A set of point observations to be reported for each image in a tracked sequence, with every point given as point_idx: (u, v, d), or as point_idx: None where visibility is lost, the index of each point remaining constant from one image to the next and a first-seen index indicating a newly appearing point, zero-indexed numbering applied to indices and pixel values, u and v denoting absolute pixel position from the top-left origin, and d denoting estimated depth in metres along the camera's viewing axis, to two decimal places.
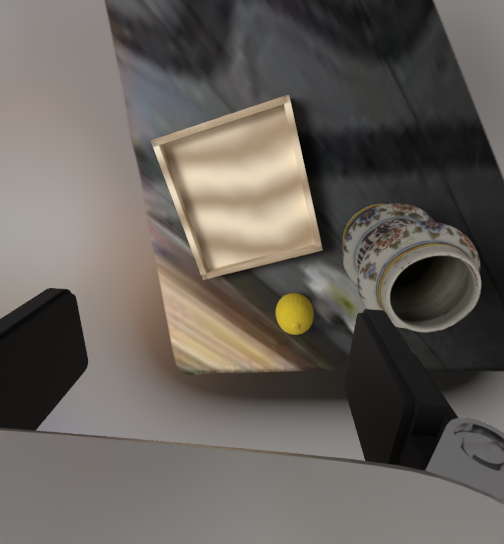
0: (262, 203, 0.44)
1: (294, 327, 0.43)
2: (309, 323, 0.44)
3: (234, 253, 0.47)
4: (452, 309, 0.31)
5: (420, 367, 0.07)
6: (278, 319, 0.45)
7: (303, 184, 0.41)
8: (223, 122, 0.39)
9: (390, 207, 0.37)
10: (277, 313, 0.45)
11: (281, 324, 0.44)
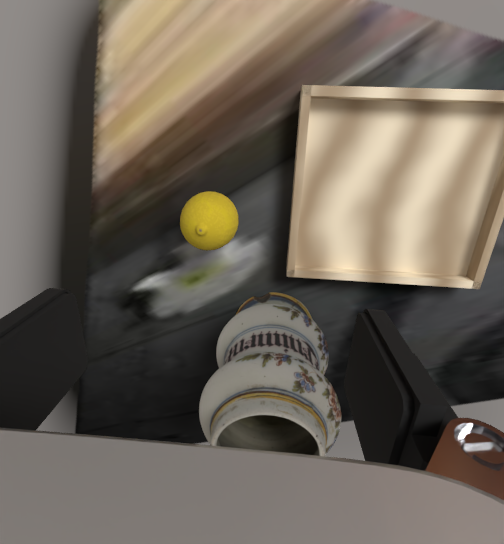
0: (372, 217, 0.32)
1: (201, 228, 0.27)
2: (198, 246, 0.29)
3: (319, 153, 0.31)
4: None
5: (420, 367, 0.07)
6: (211, 200, 0.28)
7: (377, 276, 0.33)
8: (499, 207, 0.30)
9: (326, 367, 0.33)
10: (219, 199, 0.29)
11: (205, 204, 0.28)
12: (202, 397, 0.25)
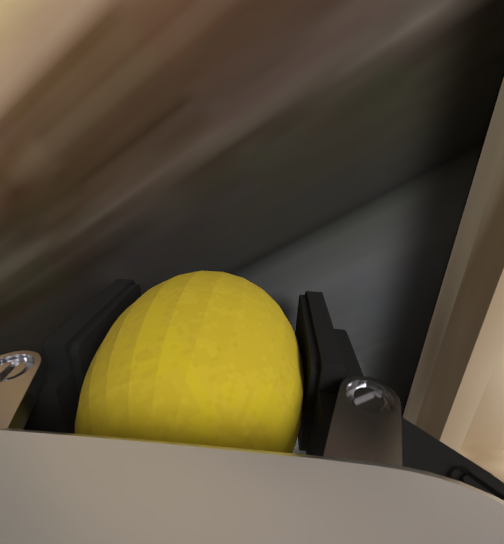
0: None
1: None
2: None
3: None
4: None
5: (335, 336, 0.08)
6: (211, 350, 0.06)
7: None
8: None
9: None
10: (244, 333, 0.07)
11: (176, 386, 0.06)
12: None
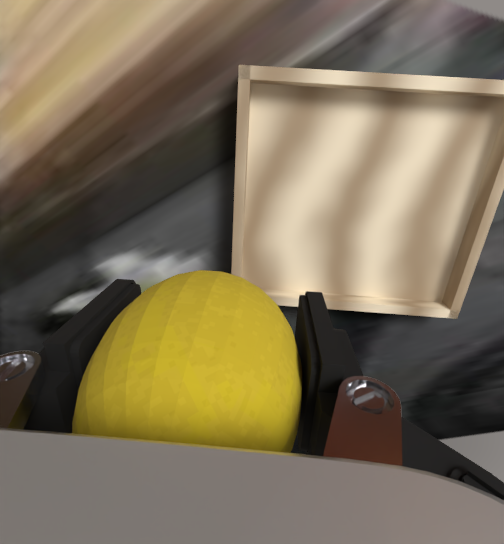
0: (332, 232, 0.27)
1: None
2: None
3: (266, 153, 0.25)
4: None
5: (335, 336, 0.08)
6: (208, 349, 0.06)
7: (338, 303, 0.28)
8: (482, 224, 0.24)
9: None
10: (243, 332, 0.07)
11: (174, 386, 0.06)
12: None
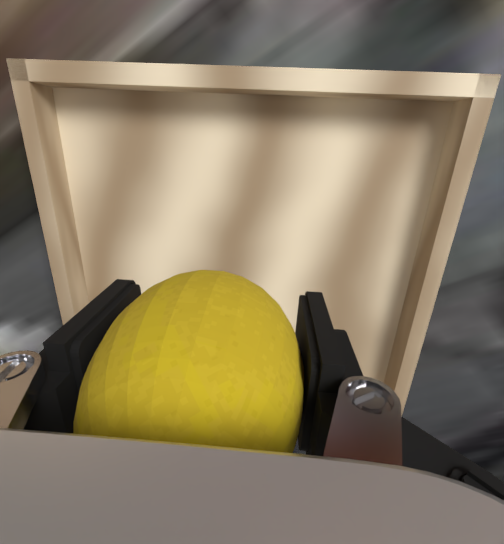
0: None
1: None
2: None
3: (97, 190, 0.16)
4: None
5: (334, 336, 0.08)
6: (210, 349, 0.06)
7: None
8: (423, 296, 0.16)
9: None
10: (244, 332, 0.07)
11: (176, 386, 0.06)
12: None
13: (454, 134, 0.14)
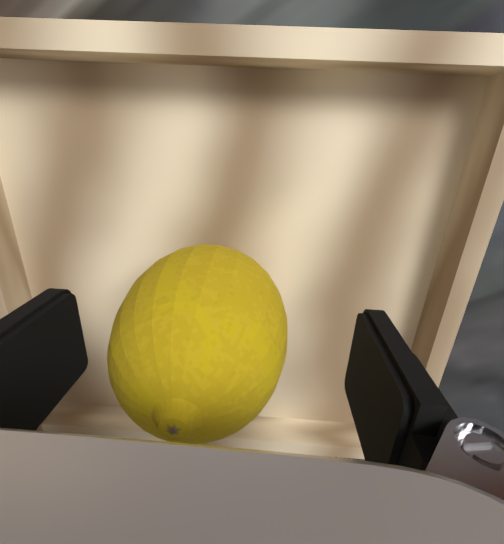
0: None
1: (175, 422, 0.07)
2: None
3: (38, 191, 0.13)
4: None
5: (420, 367, 0.07)
6: (213, 296, 0.08)
7: None
8: (445, 320, 0.13)
9: None
10: (239, 286, 0.09)
11: (188, 320, 0.07)
12: None
13: (491, 118, 0.11)
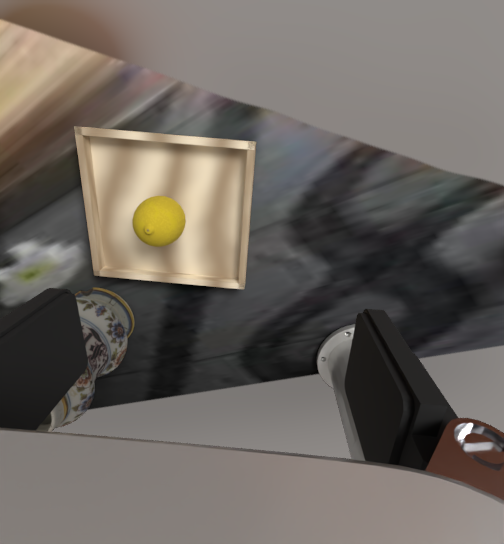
0: None
1: (148, 228, 0.32)
2: (147, 243, 0.34)
3: (106, 178, 0.38)
4: None
5: (420, 367, 0.07)
6: (159, 204, 0.33)
7: (164, 277, 0.41)
8: (243, 227, 0.38)
9: (121, 349, 0.41)
10: (166, 203, 0.34)
11: (152, 208, 0.33)
12: None
13: None
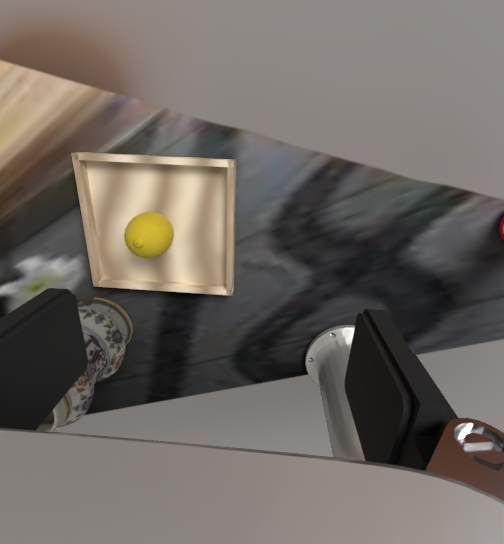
0: None
1: (137, 242, 0.35)
2: (138, 255, 0.37)
3: (102, 197, 0.42)
4: None
5: (420, 367, 0.07)
6: (147, 219, 0.36)
7: (158, 286, 0.45)
8: (227, 237, 0.41)
9: (120, 354, 0.45)
10: (154, 218, 0.37)
11: (141, 223, 0.36)
12: None
13: None
